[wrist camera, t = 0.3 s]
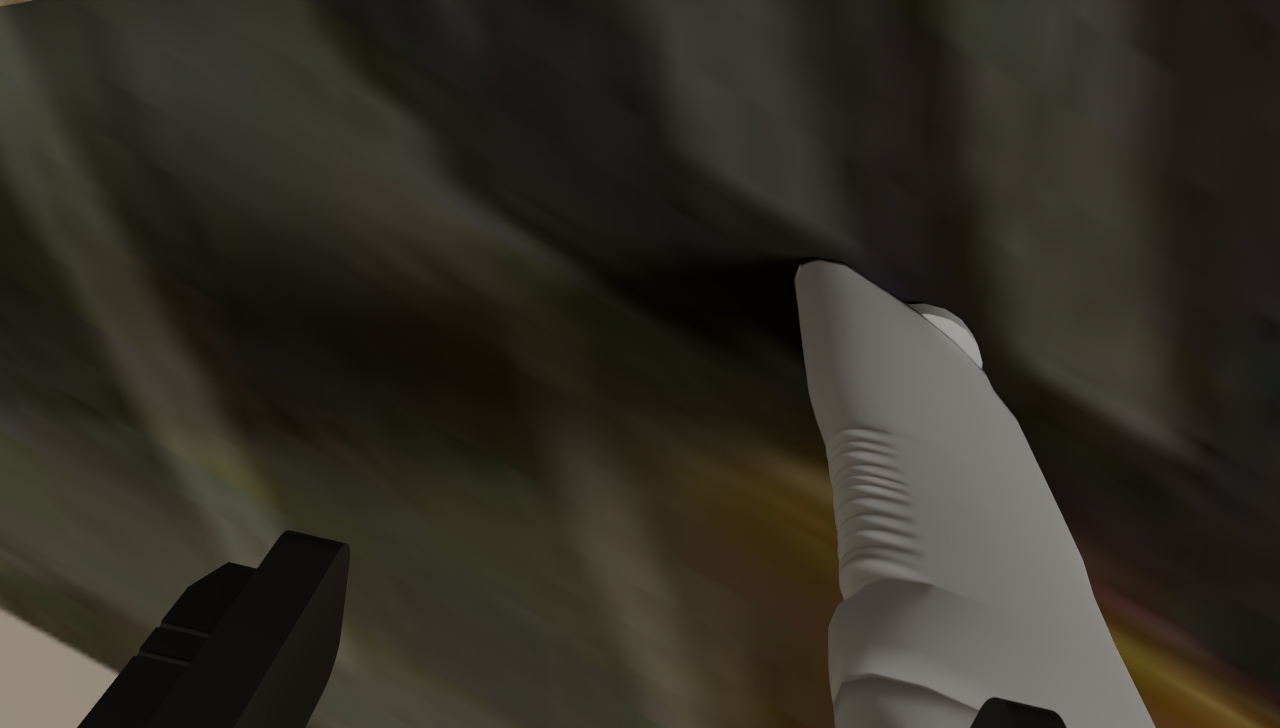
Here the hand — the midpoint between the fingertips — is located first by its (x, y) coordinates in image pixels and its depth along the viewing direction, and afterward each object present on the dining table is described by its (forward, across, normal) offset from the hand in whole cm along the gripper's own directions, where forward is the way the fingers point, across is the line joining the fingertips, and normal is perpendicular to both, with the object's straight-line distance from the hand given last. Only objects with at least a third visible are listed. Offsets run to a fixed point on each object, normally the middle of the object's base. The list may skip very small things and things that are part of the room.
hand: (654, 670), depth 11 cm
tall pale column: (+19, -8, +2) cm, 20 cm away
